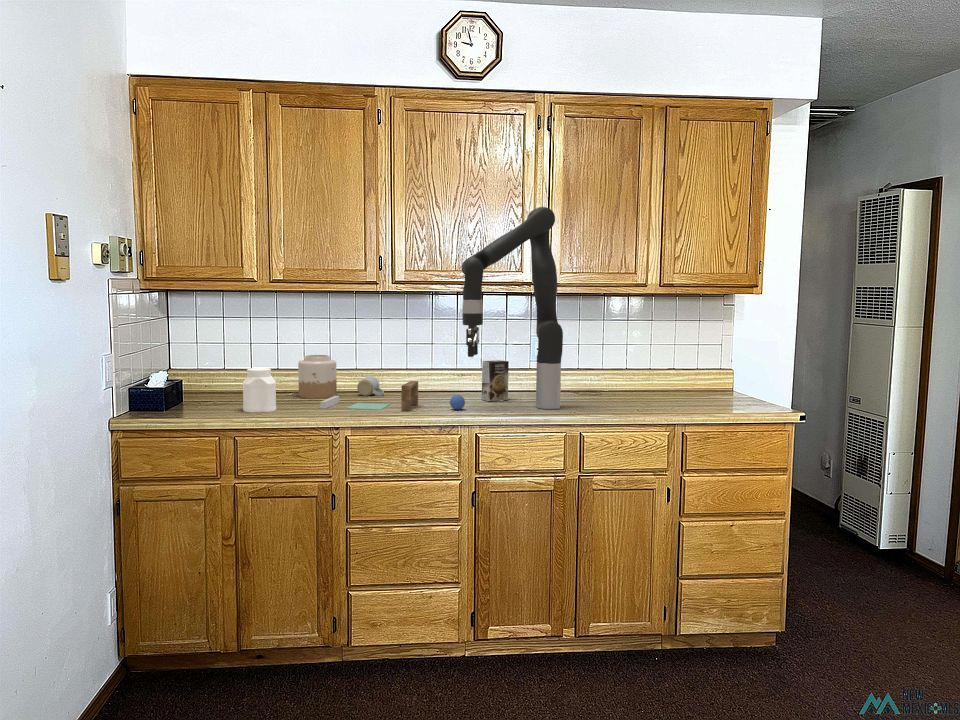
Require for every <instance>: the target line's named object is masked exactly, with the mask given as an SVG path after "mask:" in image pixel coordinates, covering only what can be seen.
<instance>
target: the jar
mask: <svg viewBox="0 0 960 720" xmlns="http://www.w3.org/2000/svg"><path fill="white" fill-rule="evenodd" d="M246 373H247V374H246V375H247V376H246V377H245V379H244V380H243V382H242V398H243V399H242V400H243V404H242V405H243V406H242V411H243V412H245V413H271V412H275V411H276V410H277V395H276V394H277V393H276V392H277V391H276V389H277V388H276V387H277V381H276V380H275V379H274V377H273V376H272V368H268V367H253V368H252V367H251V368H247V372H246Z"/></svg>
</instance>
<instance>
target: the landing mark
mask: <svg viewBox="0 0 960 720" xmlns="http://www.w3.org/2000/svg"><path fill="white" fill-rule="evenodd" d="M390 405H391V404H390V403H373V402H372V403H367V402H357V403H354V404H352V405H351V406H348V407H347V408H346V409H347V410H370V411H371V410H375V411H377V410H378V411H381V410H383V409H384V408H386V407H388V406H390Z"/></svg>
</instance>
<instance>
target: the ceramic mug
mask: <svg viewBox="0 0 960 720" xmlns="http://www.w3.org/2000/svg"><path fill="white" fill-rule="evenodd" d="M356 390H357V392H358V393H359V394H360V396H363V397H369V396H372V395H376V396H378V397H382V396H383V395H384V394H385V391H384V389H382V388H380V382H379V380H378V379H377V378H376V377H375V376H372V375H368V376H367V375H366V376H365V377H364V378H363V379H361V380H360V381H359V382H358V383H357V387H356Z"/></svg>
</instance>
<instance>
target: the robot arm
mask: <svg viewBox="0 0 960 720" xmlns="http://www.w3.org/2000/svg"><path fill="white" fill-rule="evenodd" d="M555 222H556V216H555V213H554V211H553V210H552V209H551V208H549V207H547V206H540V207H536V208H534V209H532V210H531V211H530V212H529V213H528V215H527V217H526V219H525V220H524V221H523V222H522V223H520V224H519V225H518V226H516V227H515V228H513V229H512V230H510V231H507V232H506V233H504V234H503V235H501V236H499V237H497V238H496V239H495V240H493V241H492V242H490V243H488V245H486V246H485V247H484V248H482V249H481V250H480V251H478V252H476V253H474V254H473V255H470V256H469V257H468V258H466V259H465V260H464V261H463V262H462V263H461V264H462V265H461V272H462V273H463V275H464V285H463V286H462V287H463V288H462V309H461V310H462V325H463V326H468V327H467V328H466V329H465V330H466V331H465V332H466V336H465V338H466V343H465V344H466V346H467V357H468V358H473V357H474V356H477V355H478V354H479V351H478V350H479V349H478V347H479V343H480V327H479V326H483V325H484V324H483V323H484V322H483V321H484V320H483V319H484V315H483V313H484V312H483V310H484V309H483V307H484V306H483V291H482V290H483V289H482V287H483V286H482V285H483V278H484V270H486V269H487V268H488V267H489V266H492V265H494V264H496V263H498V262H499V261H500V260H503V258H505V257H506V256H508V255H509V254H511V253H512V252H514V250H516V249H517V248H518V247H520V246H521V245H523V244H524V243H526V242H527V241H528V240H529V242H530V251H531V252H530V253H531V257H530V258H531V276H532V287H533V294H534V299H535V301H534V302H535V305H536V328H535V329H536V332H535V333H536V336H537V338H538V339H537V340H538V341H537V344H538V345H537V354H536V377H535V378H536V379H535V380H536V383H535V384H536V385H535V407H536V408H537V409H544V410H558V409H559V410H560V409H561V393H562V392H561V386H562V384H561V383H562V380H561V376H562V375H561V374H562V357H563V345H564V332H563V327H562V326H561V324H560V323H559V322H558V318H557V317H558V315H557V309H556V306H557V305H556V302H557V295H558V294H557V293H558V276H557V275H558V273H557V272H558V271H557V265H556V262H555V259H554V256H553V252H552V249H551V246H550V245H551V244H550V230H551V229H552V228H553V227H554V225H555Z"/></svg>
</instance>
